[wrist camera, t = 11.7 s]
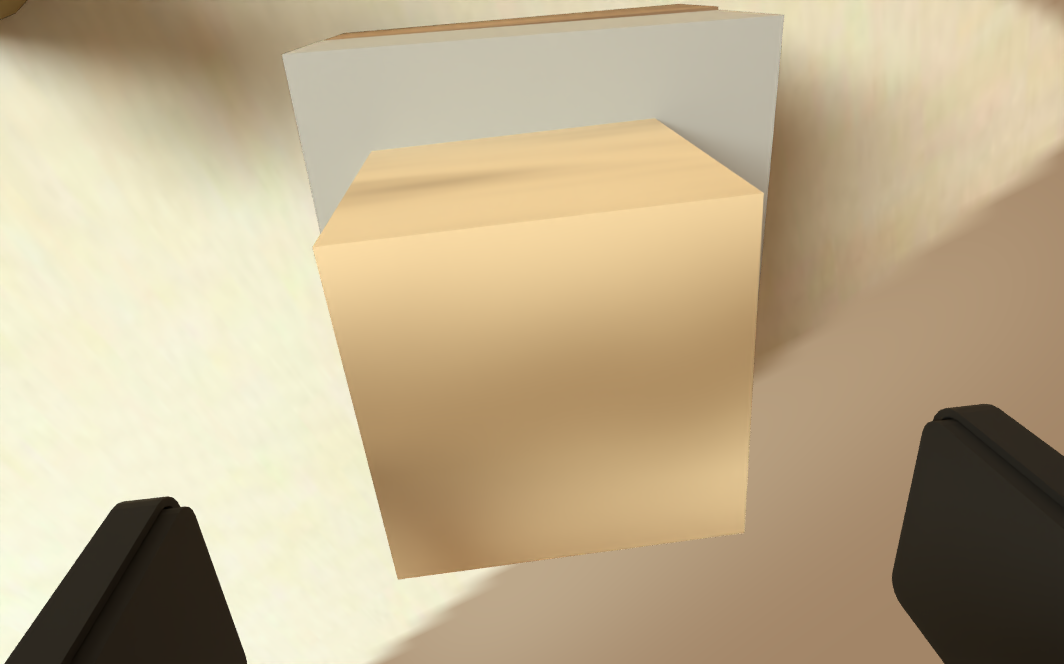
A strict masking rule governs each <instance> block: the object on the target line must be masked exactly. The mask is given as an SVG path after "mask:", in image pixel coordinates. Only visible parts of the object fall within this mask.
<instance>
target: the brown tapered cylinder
mask: <svg viewBox="0 0 1064 664" xmlns="http://www.w3.org/2000/svg"><path fill="white" fill-rule="evenodd" d="M26 1H27V0H0V20H1V19H3V18H5V17H8V16H10V15H12V14H15V13H16V12H17V11H18V10H19V9H20V8H21V7H22V5H23V4H24V3H25V2H26Z"/></svg>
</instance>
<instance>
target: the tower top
mask: <svg viewBox="0 0 1064 664" xmlns="http://www.w3.org/2000/svg"><path fill="white" fill-rule="evenodd" d="M783 22H784V15H778V14H765V13H753V12H741V11H728V10H710V11H697V12H684V13H671V14H658V15H645V16H633V17H620V18H607V19H594V20H581V21H568V22H555V23H542V24H529V25H516V26H503V27H491V28H478V29H465V30H452V31H439V32H426V33H413V34H400V35H387V36H374V37H361V38H349V39H336V40H323V41H319V42H316V43H313V44H310V45H307V46H304V47H301V48H298V49H296V50H293V51H290V52H287V53H284V54H282V58H283V63H284V67H285V72H286V76H287V81H288V86H289V90H290V95H291V100H292V104H293V109H294V113H295V118H296V123H297V127H298V132H299V137H300V141H301V146H302V150H303V155H304V160H305V164H306V169H307V173H308V178H309V183H310V187H311V192H312V197H313V201H314V206H315V210H316V215H317V220H318V224H319V229H320V234H321V233H322V231H323V229H324V228H325V226H326V224H327V223H328V221H329V219H330V218H331V216H332V215H333V213H334V211H335V210H336V208H337V206H338V205H339V203H340V202H341V200H342V198H343V197H344V195H345V193H346V192H347V190H348V188H349V187H350V185H351V184H352V182H353V180H354V179H355V177H356V175H357V174H358V172H359V170H360V169H361V167H362V166H363V164H364V162H365V161H366V159H367V157H368V156H369V154H370V153H371V151H377V150H385V149H394V148H403V147H411V146H420V145H429V144H437V143H446V142H454V141H463V140H472V139H480V138H489V137H497V136H506V135H515V134H523V133H532V132H540V131H549V130H558V129H566V128H575V127H583V126H592V125H601V124H609V123H618V122H627V121H635V120H644V119H652V118H655V119H657V120H658V121H660V122H661V123H663V124H664V125H665V126H667V127H668V128H670V129H671V130H673V131H674V132H676V133H677V134H679V135H680V136H681V137H683V138H684V139H686V140H687V141H689V142H690V143H692V144H693V145H695V146H696V147H697V148H699V149H700V150H702V151H703V152H705V153H706V154H708V155H709V156H711V157H712V158H713V159H715V160H716V161H718V162H719V163H721V164H722V165H724V166H725V167H727V168H728V169H729V170H731V171H732V172H734V173H735V174H737V175H738V176H740V177H741V178H743V179H744V180H745V181H747V182H748V183H750V184H751V185H753V186H754V187H756V188H757V189H759V190H760V191H761V192H763V193H764V197H763V215H762V232H761V250H760V267H759V285H760V274H761V263H762V252H763V241H764V230H765V219H766V208H767V197H768V186H769V175H770V165H771V154H772V143H773V132H774V121H775V110H776V99H777V88H778V77H779V66H780V55H781V44H782V33H783ZM759 285H758V296H759ZM757 307H758V302H757Z"/></svg>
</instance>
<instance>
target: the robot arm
mask: <svg viewBox="0 0 1064 664" xmlns="http://www.w3.org/2000/svg"><path fill="white" fill-rule="evenodd" d="M892 583H893V588H894V592H895V594H896V597H897V599H898V601H899V602H900V604H901V605H902V607H903V608H904V610H905V611H906V612H907V613H908V615H909V616H910V617H911V619H912V620H913V622H914V623H915V624H916V625H917V627H918V628H919V630H920V631H921V632H922V634H923V635H924V636H925V638H926V639H927V640H928V642H929V643H930V644H931V646H932V647H933V649H934V650H935V651H936V653H937V654H938V655H939V657H940V658H941V659H942V661H943V662H944V663H945V664H1064V456H1063V455H1061V454H1060V453H1058V452H1057V451H1056V450H1054V449H1053V448H1052V447H1050V446H1049V445H1048V444H1046V443H1045V442H1044V441H1042V440H1041V439H1040V438H1038V437H1037V436H1035V435H1034V434H1033V433H1031V432H1030V431H1029V430H1027V429H1026V428H1025V427H1023V426H1022V425H1021V424H1019V423H1018V422H1016V421H1015V420H1014V419H1013V418H1011V417H1010V416H1008V415H1007V414H1006V413H1004V412H1003V411H1002V410H1000V409H999V408H997V407H995V406H993V405H989V404H980V405H971V406H962V407H953V408H945V409H943V410H940V411H939V412H938V413H937V414H936V415H935V417H934V419H933V421H932V422H929V423H927V424H926V425H925V427H924V429H923V432H922V437H921V441H920V446H919V451H918V456H917V460H916V465H915V470H914V474H913V479H912V484H911V488H910V493H909V498H908V502H907V507H906V512H905V516H904V521H903V526H902V530H901V535H900V540H899V545H898V549H897V554H896V559H895V563H894V568H893V573H892ZM5 664H247V660H246V656H245V653H244V650H243V647H242V645H241V642H240V639H239V636H238V633H237V631H236V628H235V625H234V622H233V619H232V617H231V614H230V611H229V608H228V605H227V603H226V600H225V597H224V594H223V591H222V589H221V586H220V583H219V580H218V577H217V575H216V572H215V569H214V566H213V563H212V561H211V558H210V555H209V552H208V549H207V547H206V544H205V541H204V538H203V535H202V533H201V530H200V527H199V524H198V521H197V519H196V516H195V514H194V512H193V510H192V509H191V508H190V507H180V506H179V504H178V502H177V501H176V500H175V499H174V498H172V497H160V498H151V499H142V500H133V501H124V502H121V503H119V504H117V505H116V506H115V507H114V508H113V509H112V510H111V511H110V513H109V514H108V516H107V517H106V519H105V520H104V521H103V523H102V524H101V526H100V527H99V529H98V530H97V531H96V533H95V534H94V536H93V537H92V539H91V540H90V542H89V543H88V544H87V546H86V547H85V549H84V550H83V552H82V553H81V554H80V556H79V557H78V559H77V560H76V562H75V563H74V564H73V566H72V567H71V569H70V570H69V572H68V573H67V575H66V576H65V577H64V579H63V580H62V582H61V583H60V585H59V586H58V587H57V589H56V590H55V592H54V593H53V595H52V596H51V598H50V599H49V600H48V602H47V603H46V605H45V606H44V608H43V609H42V610H41V612H40V613H39V615H38V616H37V618H36V619H35V620H34V622H33V623H32V625H31V626H30V628H29V629H28V631H27V632H26V633H25V635H24V636H23V638H22V639H21V641H20V642H19V643H18V645H17V646H16V648H15V649H14V651H13V652H12V653H11V655H10V656H9V658H8V659H7V661H6V662H5Z"/></svg>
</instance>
